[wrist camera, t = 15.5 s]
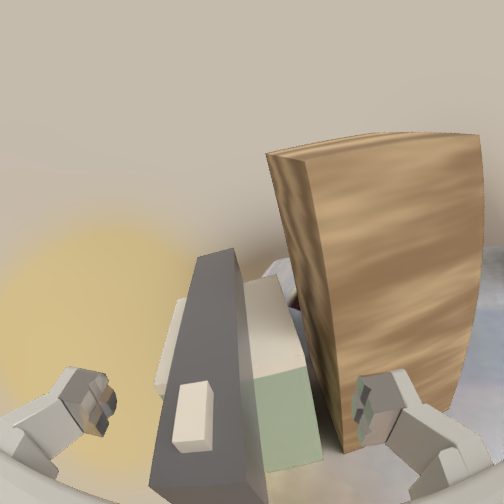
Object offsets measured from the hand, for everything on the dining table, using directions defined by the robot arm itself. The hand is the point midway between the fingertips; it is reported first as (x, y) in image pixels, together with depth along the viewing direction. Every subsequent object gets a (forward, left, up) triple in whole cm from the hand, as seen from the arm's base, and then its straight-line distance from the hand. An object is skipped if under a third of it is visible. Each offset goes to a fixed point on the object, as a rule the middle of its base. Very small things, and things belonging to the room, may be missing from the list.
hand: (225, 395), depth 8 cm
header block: (-11, -8, -21) cm, 25 cm away
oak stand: (-19, +2, -21) cm, 28 cm away
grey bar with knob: (-7, -6, -6) cm, 11 cm away
